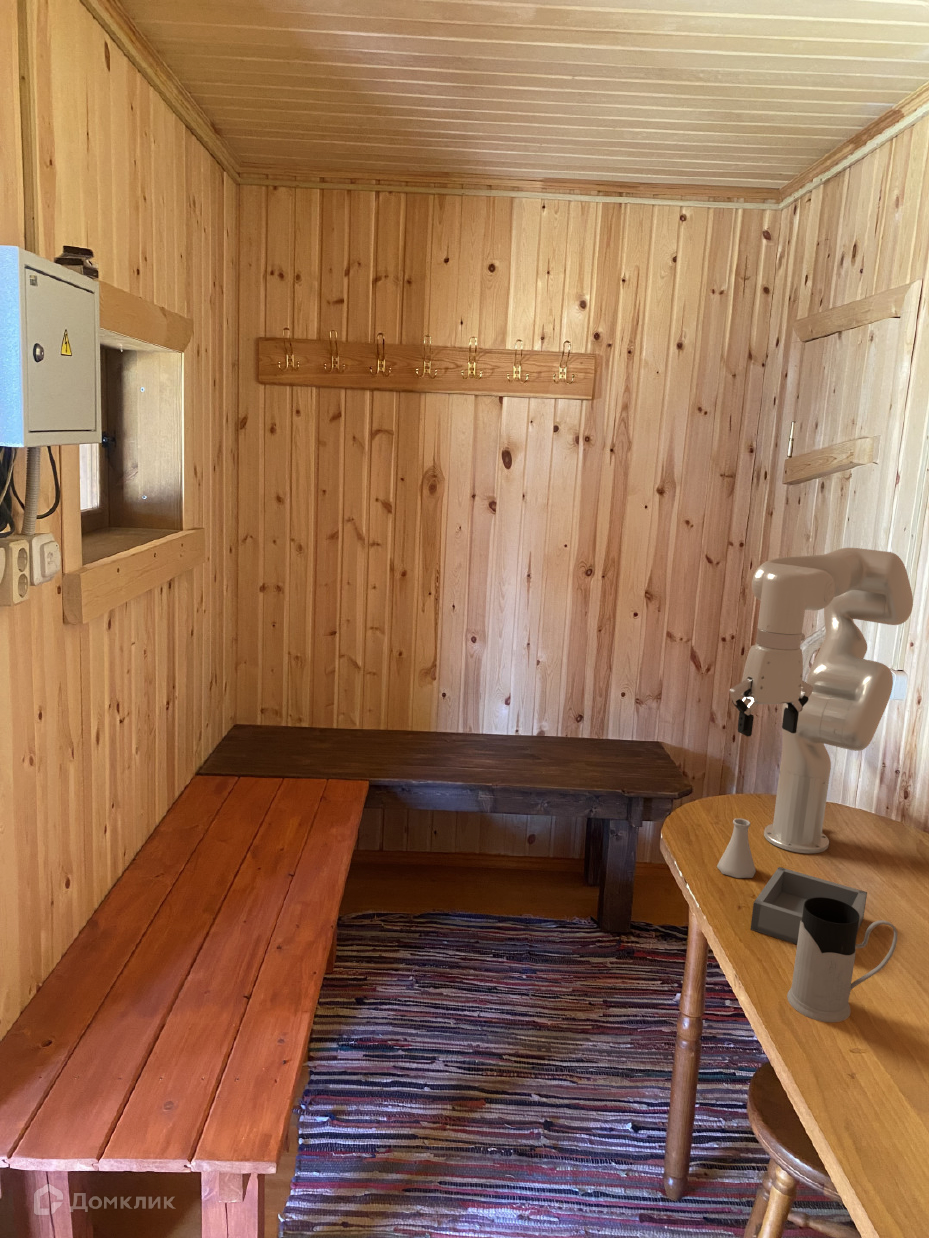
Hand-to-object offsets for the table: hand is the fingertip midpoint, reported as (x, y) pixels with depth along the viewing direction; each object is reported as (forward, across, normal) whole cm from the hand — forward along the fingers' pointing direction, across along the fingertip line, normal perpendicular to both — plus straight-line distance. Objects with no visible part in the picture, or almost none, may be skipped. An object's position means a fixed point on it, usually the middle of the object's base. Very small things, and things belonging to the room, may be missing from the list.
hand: (766, 732), depth 165 cm
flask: (+29, 0, -4) cm, 29 cm away
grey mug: (+30, +11, +36) cm, 48 cm away
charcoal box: (+29, 0, +16) cm, 33 cm away
